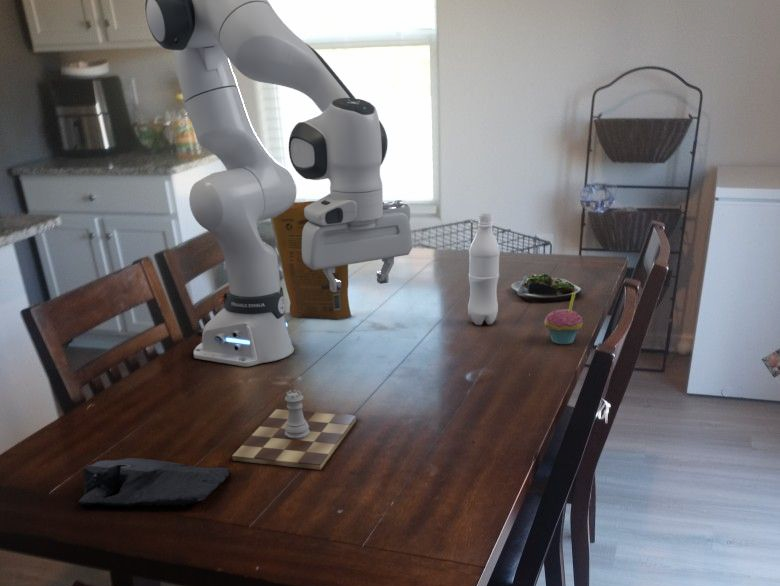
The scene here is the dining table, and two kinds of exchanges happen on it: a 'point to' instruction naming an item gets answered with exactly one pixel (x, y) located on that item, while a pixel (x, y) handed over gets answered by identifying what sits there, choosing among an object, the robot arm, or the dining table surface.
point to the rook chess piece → (295, 417)
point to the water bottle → (483, 273)
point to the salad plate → (545, 289)
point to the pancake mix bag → (307, 271)
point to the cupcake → (564, 324)
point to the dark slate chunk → (148, 482)
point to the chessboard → (295, 440)
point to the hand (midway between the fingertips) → (359, 286)
